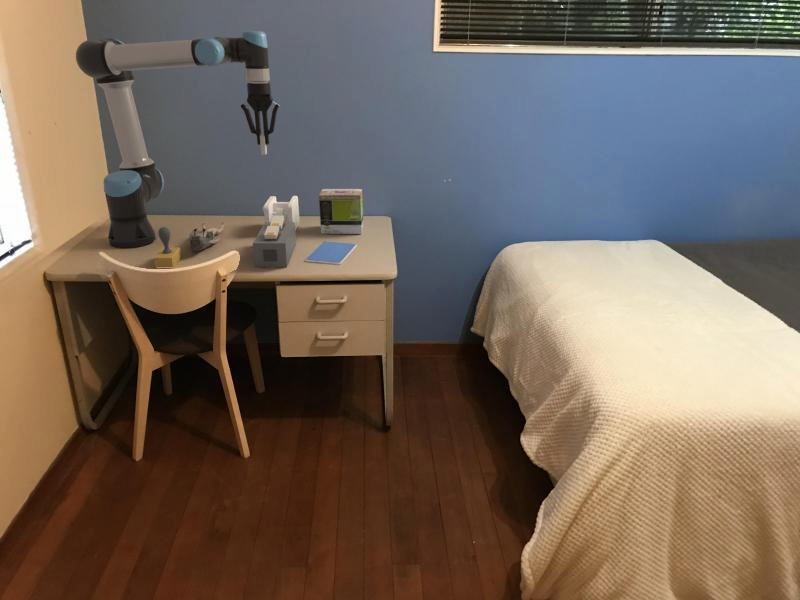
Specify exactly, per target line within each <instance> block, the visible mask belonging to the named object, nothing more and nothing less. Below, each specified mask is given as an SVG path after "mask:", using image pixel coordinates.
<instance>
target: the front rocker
mask: <svg viewBox="0 0 800 600" xmlns="http://www.w3.org/2000/svg"><path fill="white" fill-rule="evenodd" d="M278 232H279V226H267V229H266V232H265V234H264V237H265V239H276V238H277V235H278Z"/></svg>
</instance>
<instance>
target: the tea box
mask: <svg viewBox="0 0 800 600" xmlns="http://www.w3.org/2000/svg"><path fill="white" fill-rule="evenodd" d="M363 200H364V199H363V189H362V188H322V190H321V191H320V193H319V195H318V203H319V204H318V205H319V206H318V207H319V219H320V220H319V222H320V223H319V224H320V233H321V235H322V234H323V235H324V234H326V235H327V234H329V235H331V234H333V235H336V234H337V235H354V234H355V235H356V234H357V235H361V234H362V233H363V229H364V203H363ZM362 228H363V229H362Z"/></svg>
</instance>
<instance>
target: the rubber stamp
mask: <svg viewBox="0 0 800 600" xmlns="http://www.w3.org/2000/svg"><path fill="white" fill-rule="evenodd" d="M158 237H159V240H160V241H161V242H162V245H163V247H162V248H161V249H160V250H159V251H158V253H157V254H156V255H155V256H154V257H153V263H154V268H155V267H174V266H175V265H176V266H177V264H178V263H179V262H178V261H180V260H181V259H182V257H183V256H182V249H181V247H178V246H176V247H175V246H174V247H170V246H169V244H170V243H169V242H170V240H171V231H170V229H169V228H168V227H166V226H162V227H160V228H159V229H158ZM177 262H178V263H177ZM176 266H175V267H176ZM175 267H174V268H175Z"/></svg>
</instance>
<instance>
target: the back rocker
mask: <svg viewBox="0 0 800 600" xmlns="http://www.w3.org/2000/svg"><path fill="white" fill-rule="evenodd" d="M283 221H284V216H273V217H272V220H271V224H270V226H279V230H282V226H283Z"/></svg>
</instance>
